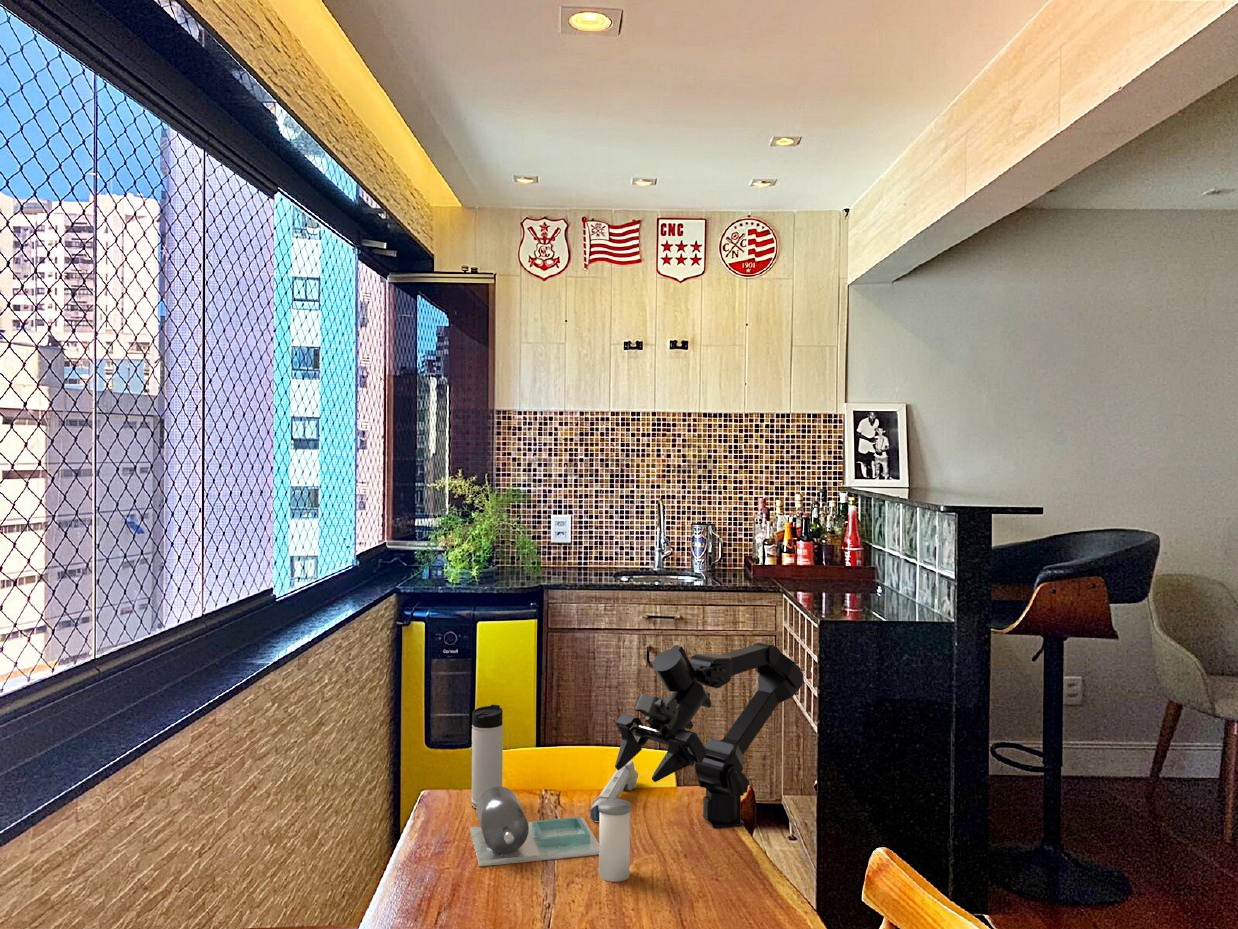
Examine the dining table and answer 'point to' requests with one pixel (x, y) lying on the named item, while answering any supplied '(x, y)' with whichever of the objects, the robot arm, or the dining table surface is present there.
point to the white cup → (614, 840)
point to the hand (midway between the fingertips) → (634, 774)
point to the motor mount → (525, 833)
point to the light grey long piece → (616, 787)
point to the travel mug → (486, 750)
